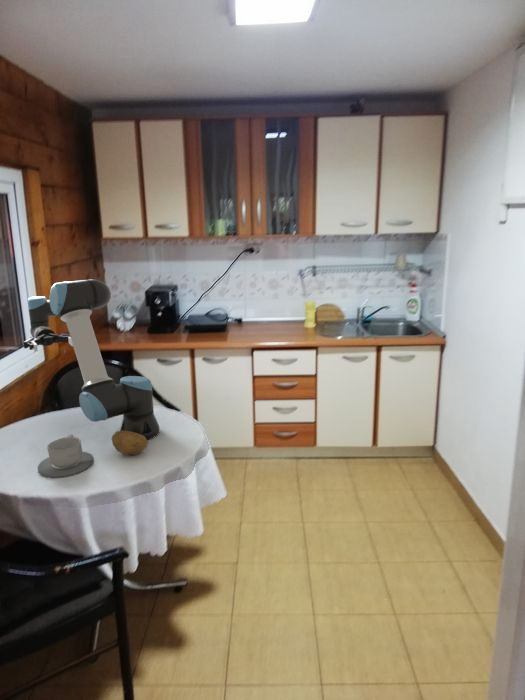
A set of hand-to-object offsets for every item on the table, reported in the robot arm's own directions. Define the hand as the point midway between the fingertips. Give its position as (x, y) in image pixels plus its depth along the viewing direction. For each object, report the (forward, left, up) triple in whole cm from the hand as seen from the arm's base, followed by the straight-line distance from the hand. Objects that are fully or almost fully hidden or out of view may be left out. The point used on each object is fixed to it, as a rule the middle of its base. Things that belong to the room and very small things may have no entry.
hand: (55, 345), depth 194 cm
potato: (-36, +19, -35) cm, 54 cm away
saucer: (-17, +30, -35) cm, 49 cm away
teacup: (-18, +30, -34) cm, 49 cm away
